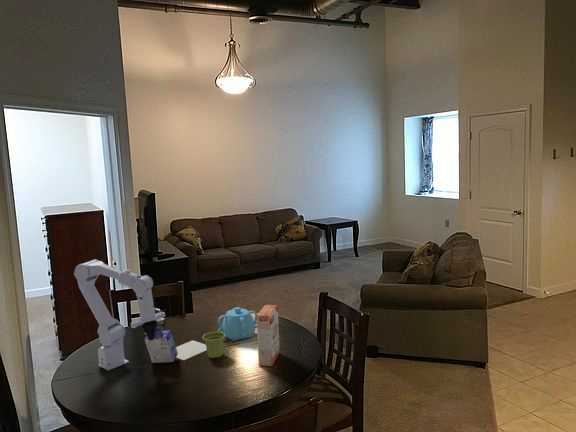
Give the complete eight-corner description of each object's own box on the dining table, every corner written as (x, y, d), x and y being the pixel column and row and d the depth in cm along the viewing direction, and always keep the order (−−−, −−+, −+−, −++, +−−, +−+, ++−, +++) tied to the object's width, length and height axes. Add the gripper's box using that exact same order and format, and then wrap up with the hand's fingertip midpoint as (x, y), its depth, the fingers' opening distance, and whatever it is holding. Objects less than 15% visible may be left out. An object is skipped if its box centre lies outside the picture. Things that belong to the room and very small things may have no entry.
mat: (183, 360, 196) (183, 360, 196) (163, 353, 205) (163, 352, 205) (213, 347, 208) (213, 347, 208) (192, 341, 217) (192, 340, 217)
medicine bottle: (154, 337, 224) (152, 312, 223) (144, 334, 228) (142, 310, 227) (166, 332, 230) (164, 308, 228) (157, 330, 234) (155, 306, 233)
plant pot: (199, 358, 198) (197, 338, 197) (213, 349, 206) (211, 330, 205) (217, 361, 194) (216, 341, 193) (230, 352, 202) (229, 333, 201)
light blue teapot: (214, 339, 218) (212, 311, 216) (235, 327, 232) (233, 300, 230) (242, 345, 210) (240, 315, 208) (263, 333, 223) (261, 305, 221)
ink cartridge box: (178, 353, 199) (169, 325, 193) (174, 362, 194) (164, 333, 188) (157, 354, 201) (147, 326, 195) (151, 363, 196) (141, 334, 190)
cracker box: (273, 367, 186) (270, 315, 184) (258, 366, 188) (255, 315, 185) (280, 352, 200) (278, 304, 197) (266, 352, 201) (264, 304, 199)
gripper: (135, 313, 181) (141, 347, 182) (167, 302, 192) (172, 334, 193) (125, 311, 185) (131, 344, 187) (157, 300, 196) (162, 332, 198)
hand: (151, 339), depth 190 cm, fingers closed, pressing on ink cartridge box
